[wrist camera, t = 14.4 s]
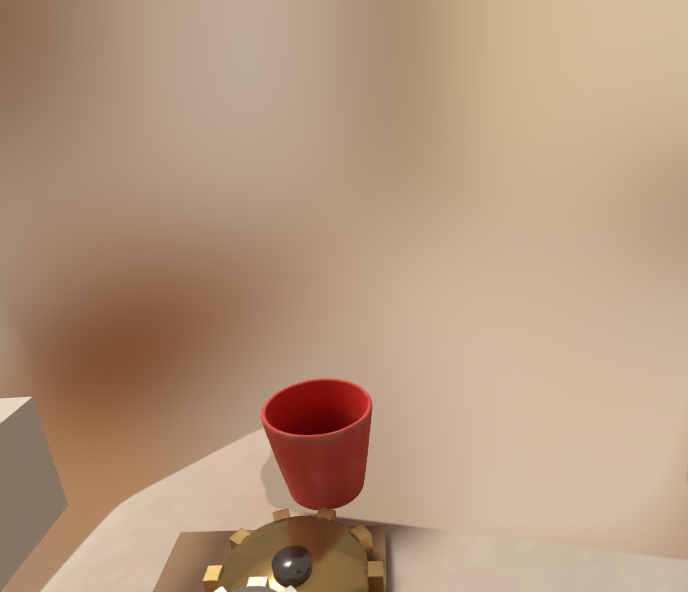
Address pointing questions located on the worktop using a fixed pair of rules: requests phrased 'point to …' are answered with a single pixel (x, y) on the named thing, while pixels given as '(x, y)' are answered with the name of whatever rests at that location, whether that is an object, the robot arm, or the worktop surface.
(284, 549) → the brass gear
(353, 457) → the flower pot
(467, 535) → the worktop surface
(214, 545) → the gear board
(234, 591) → the grey pinion
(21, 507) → the robot arm
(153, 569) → the worktop surface
